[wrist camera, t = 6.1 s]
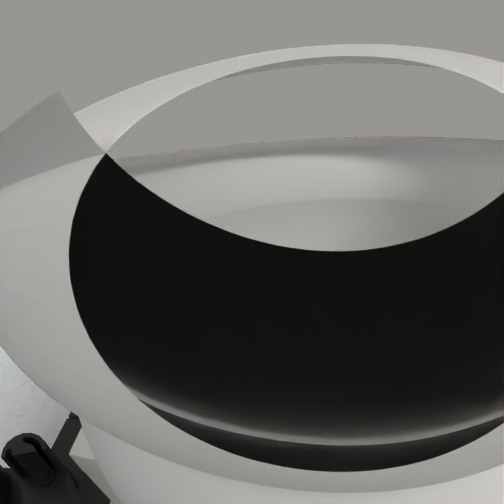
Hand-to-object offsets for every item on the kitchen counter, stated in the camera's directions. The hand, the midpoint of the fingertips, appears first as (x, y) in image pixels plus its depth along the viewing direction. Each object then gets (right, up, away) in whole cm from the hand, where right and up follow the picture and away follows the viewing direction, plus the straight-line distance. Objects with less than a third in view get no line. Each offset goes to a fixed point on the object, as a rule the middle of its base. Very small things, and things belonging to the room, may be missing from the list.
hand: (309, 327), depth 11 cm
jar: (+1, -10, -1) cm, 10 cm away
